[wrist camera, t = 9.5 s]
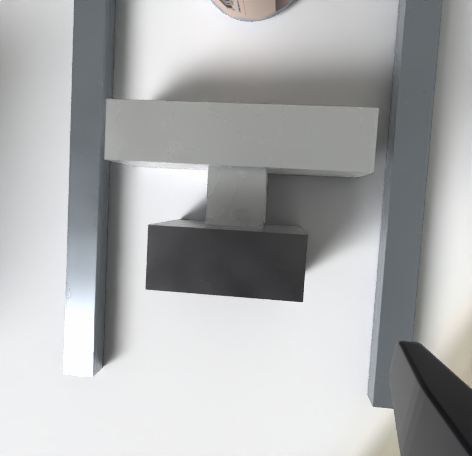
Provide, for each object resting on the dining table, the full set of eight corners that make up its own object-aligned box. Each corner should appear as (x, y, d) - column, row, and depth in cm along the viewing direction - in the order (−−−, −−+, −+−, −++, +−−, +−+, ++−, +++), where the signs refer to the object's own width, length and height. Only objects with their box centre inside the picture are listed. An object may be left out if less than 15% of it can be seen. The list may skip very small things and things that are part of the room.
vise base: (398, 397, 20) (448, 479, 14) (75, 364, 22) (-2, 425, 16) (452, -220, 18) (534, -424, 12) (92, -203, 20) (12, -375, 14)
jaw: (349, 281, 20) (372, 307, 15) (129, 265, 21) (83, 284, 16) (361, 124, 20) (389, 97, 15) (135, 116, 21) (89, 89, 16)
